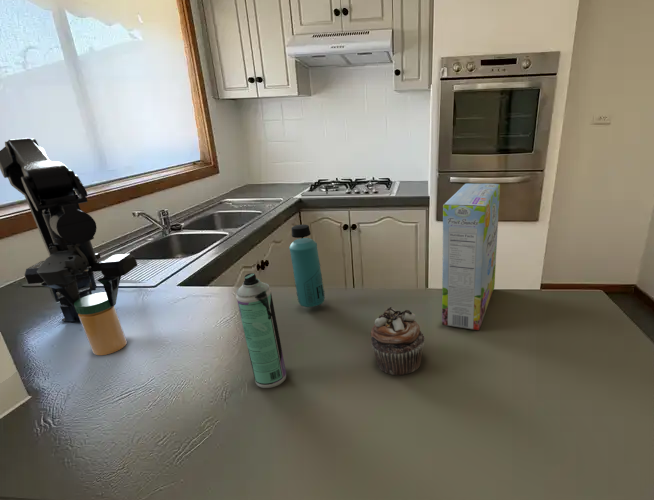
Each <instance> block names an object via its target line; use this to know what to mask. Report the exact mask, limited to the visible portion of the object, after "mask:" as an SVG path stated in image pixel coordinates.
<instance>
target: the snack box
mask: <svg viewBox="0 0 654 500" xmlns="http://www.w3.org/2000/svg"><path fill="white" fill-rule="evenodd" d="M500 193H501V184H500V183H464V184H463V185H462V186H461V187H460V188H459V189H458V190H457V191H456V192H455V193H454V194H453V195H452V196H450V198H449V199H448V200H447V201H446V202H444V203H443V205H442V272H441V273H442V275H441V277H442V278H441V279H442V281H441V287H442V288H441V291H442V292H441V325H442V326H445V327H454V328H460V329H467V330H473V331H480V329H481V326H482V324H483V321H484V318H485V314H486V312H487V309H488V306H489V304H490V301H491V297H492V295H493V292H494V289H495V286H496V285H495V284H496V267H497V265H496V264H497V249H498V248H497V246H498V231H499V229H498V228H499V214H500V213H499V211H500V196H501V195H500Z"/></svg>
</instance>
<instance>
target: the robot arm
mask: <svg viewBox="0 0 654 500" xmlns="http://www.w3.org/2000/svg"><path fill="white" fill-rule="evenodd" d="M0 172H1V174H2V176H3V178H4V179H8V182H9V184H10V186H12V187H13V188H14V189H15V190H16V191H18V192H19V193H20V194H22V195H23V196H24V198H25V200H26V203H27V205H28V208H29V210H30V213H31V215H32V218H33V220H34V222H35V224H36V227H37V229H38V233H39V234H40V237H41V239H42V242H43V244H44V247H45V249H46V251H47V253H48V257H46V258H45V259H44V260H41V261H38V262H36V263H35V264H33V265H31V266H29V267H27V268H26V269H25V271H24V275H23V276H24V278H25V280H26V283H27V284H28V285H34V284H40V285H41V286H42V287H48V289H49V292H50V294H51V297H52V298H53V300H54V301H55V302H56V303H58V302H59V304H60V305H59V307H60V310H61V313H62V315H63V318H62V319H61V321H62V322H66V323H67V322H69V323H70V322H71V323H81V321H80V318H79V316H78V313H77V312H76V310H75V307H74V303H75V302H76V301H77V300H78V299H80V298H82V297H85V296H87V295H91V294H93V291H96V290H97V288H98V286H97V282H99V283H100V284H101V285H103V289H104V292H106V295H107V298H108V301H109V303H110V305H111V306H116V304H117V299H118V293H119V287H120V284H121V283H120V282H121V280H122V277H123V276H125V275H126V276H127V275H128V273H130V272H131V271H132V270H133V269H135V268H136V267H138V263H137V259H136V257H135V256H134V255H133V254H131V253H122V254H121V253H119V254H112V255H111V256H109V257H107V258H106V259H105V260H102V261H99V260H100V259H101V255H100V253H99V252H95V249H94V246H93V244H92V242H91V241H92V240H94V239H95V235H96V233H97V229H98V228H97V223H96V221H95V219H94V218H93V217H92V216H91V215H90V214H88V213H87V212H85V211H83V210H82V209H81V207H80V204H83V203H88V198H87V197H88V192H87V189H86V188H85V186H84V184H83V182H82V180H81V179H80V178H79V175H78V174H75V172H74V170H72V169H69V168H68V166H67V165H65V164H64V163H62V162H61V161H55V160H53V161H52V160H50V159H49V156H48V155H47V153H46V150H45V148H44V147H41V146H40V145H39V143H38V141H37V140H36V138H31V137H25V138H24V137H23V138H13V139H11V138H10V139H8V140H6V141H4V146H3V148H2V149H0ZM94 272H101V275H102V276H101V277H99V278H98V279H97V282H96V280H95V273H94Z"/></svg>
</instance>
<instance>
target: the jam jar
mask: <svg viewBox="0 0 654 500" xmlns="http://www.w3.org/2000/svg"><path fill="white" fill-rule="evenodd" d="M115 306H116V305H114V306H112V307H110V308H108V309H106V310H104V311H101V312H98V313H93V314H86V315H83V314H78V316H79V318H80V321H81V322H80V324H81V326H82V329H83V331H84V334H85V336H86V338H87V340H88V341H87V342H88V343H89V346H90V349H91V350H92V354H93V355H95V356H106V355H110V354H114V353H116V352H118V351H121V350H122V349H123V348H125V347H126V345H127V344H128V341H127V338H126V335H125V332H124V329H123V326H122V324H121V320H120V318H119V315H118V313H117V310H116V307H115Z"/></svg>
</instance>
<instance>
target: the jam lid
mask: <svg viewBox="0 0 654 500" xmlns="http://www.w3.org/2000/svg"><path fill="white" fill-rule="evenodd" d="M74 307H75V310H76V312H77V313H78V314H83V315H86V314H93V313H98V312H101V311H104V310H106V309H108V308H110V307H112V306H111V305H110V303H109V301H108V298H107V295H106V292H105V291H104V292H103V291H102V292H95V293H92V294H91V295H87V296H85V297H82V298H80V299H78V300H77V301H76V302H75V303H74Z"/></svg>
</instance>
